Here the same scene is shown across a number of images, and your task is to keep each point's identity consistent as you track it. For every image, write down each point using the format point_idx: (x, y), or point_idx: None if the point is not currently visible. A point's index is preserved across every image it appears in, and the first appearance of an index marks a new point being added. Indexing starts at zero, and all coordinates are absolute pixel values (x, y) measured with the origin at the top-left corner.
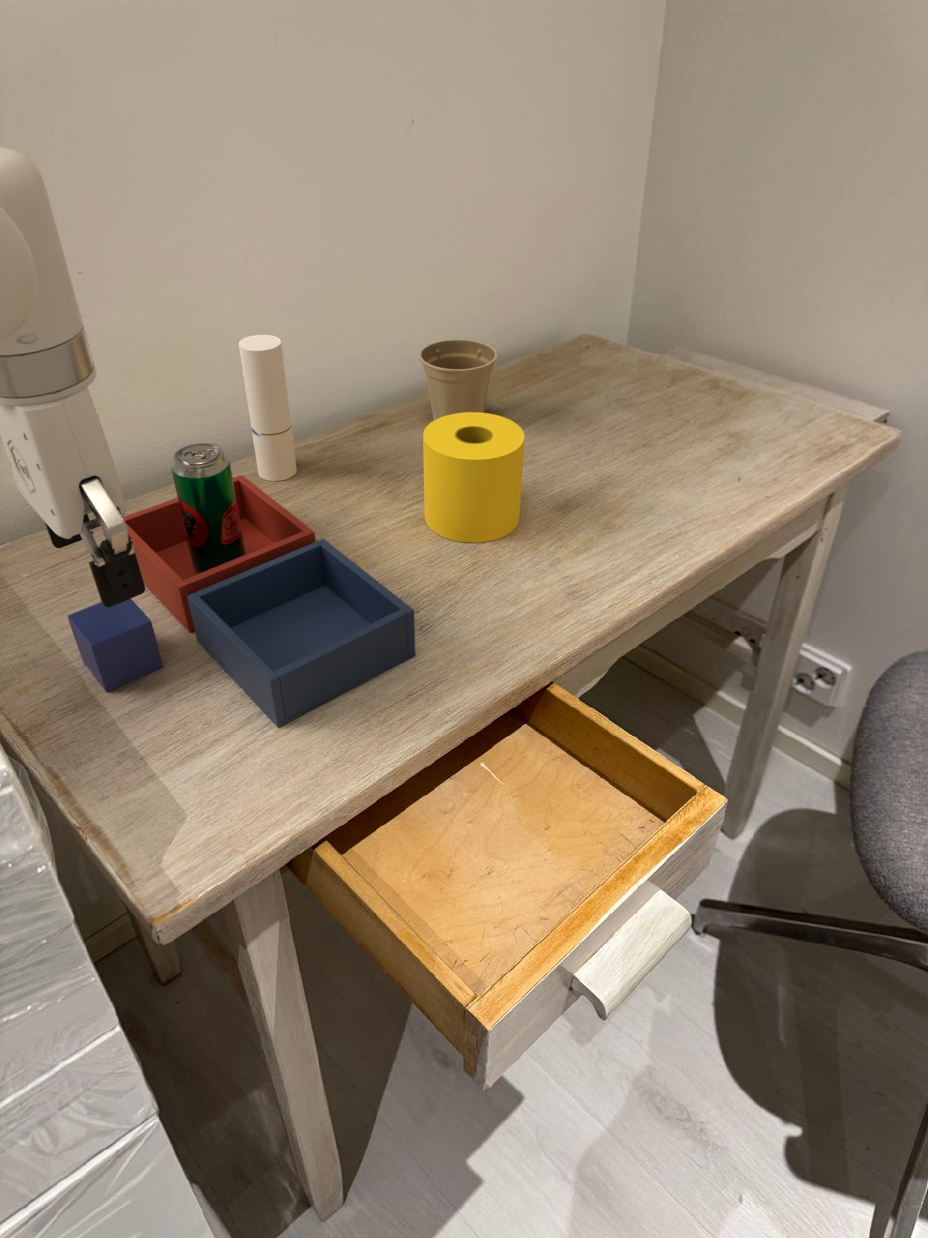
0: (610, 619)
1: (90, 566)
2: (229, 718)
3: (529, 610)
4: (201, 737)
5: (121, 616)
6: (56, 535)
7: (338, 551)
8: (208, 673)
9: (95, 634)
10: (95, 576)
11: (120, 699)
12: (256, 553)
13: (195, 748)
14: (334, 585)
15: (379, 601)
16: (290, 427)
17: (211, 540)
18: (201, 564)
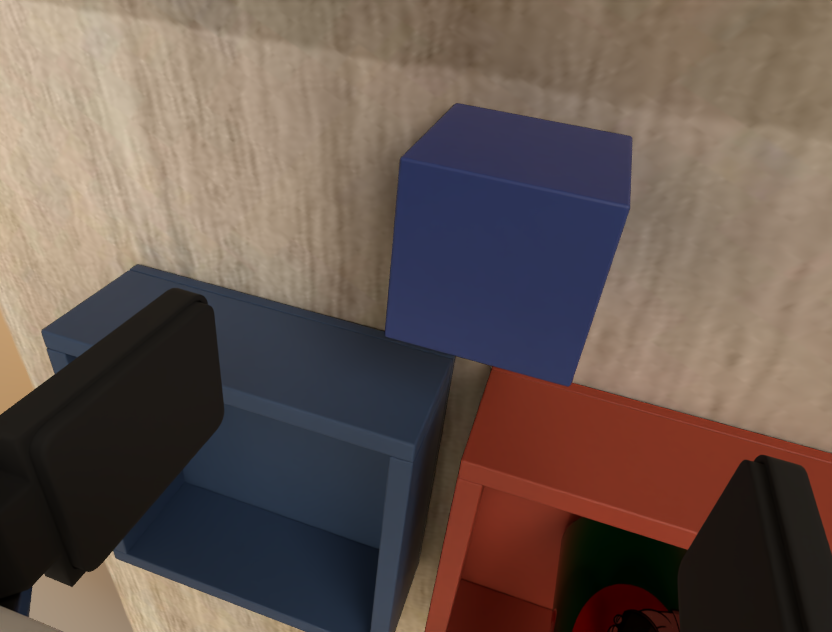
0: (122, 598)
1: (23, 422)
2: (205, 229)
3: (181, 589)
4: (185, 158)
5: (468, 306)
6: (751, 527)
7: None
8: (347, 293)
9: (447, 204)
10: (49, 383)
11: (408, 112)
12: (439, 602)
13: (163, 128)
14: (360, 562)
15: (197, 556)
16: None
17: (570, 614)
18: (612, 537)
